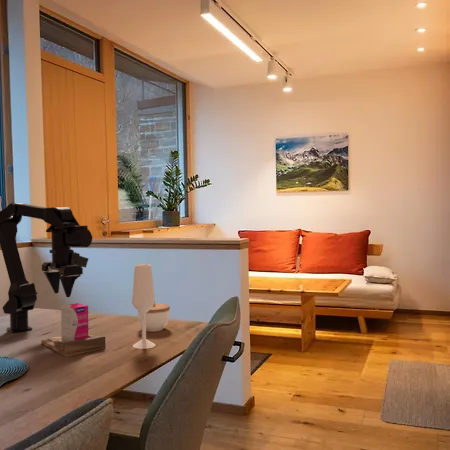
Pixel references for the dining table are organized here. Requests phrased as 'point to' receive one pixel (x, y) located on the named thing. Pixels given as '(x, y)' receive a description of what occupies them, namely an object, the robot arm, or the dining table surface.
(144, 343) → the champagne flute
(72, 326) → the supplement box
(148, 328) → the lidded jar
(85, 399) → the dining table surface
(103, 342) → the click board
